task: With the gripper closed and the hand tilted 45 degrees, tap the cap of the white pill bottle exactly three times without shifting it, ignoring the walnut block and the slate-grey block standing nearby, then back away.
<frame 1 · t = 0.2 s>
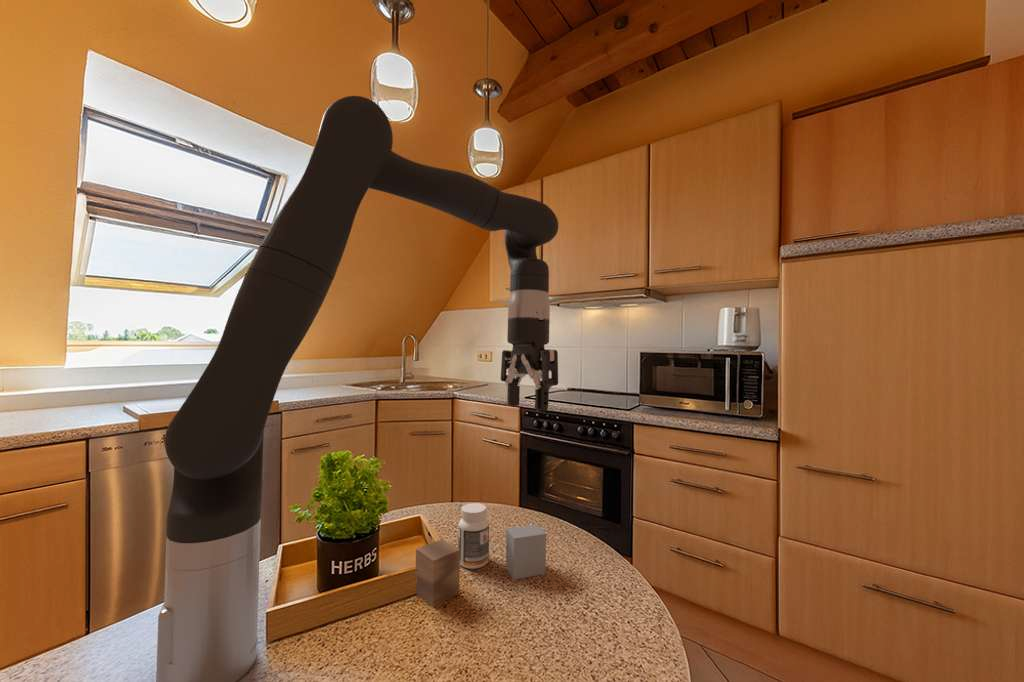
hand: (526, 408, 72), 29 cm above the countertop, tool pointing down, fingers open, 8 cm apart
pill bottle: (473, 562, 74), on the countertop
slate block: (525, 570, 72), on the countertop
walnut block: (437, 593, 65), on the countertop
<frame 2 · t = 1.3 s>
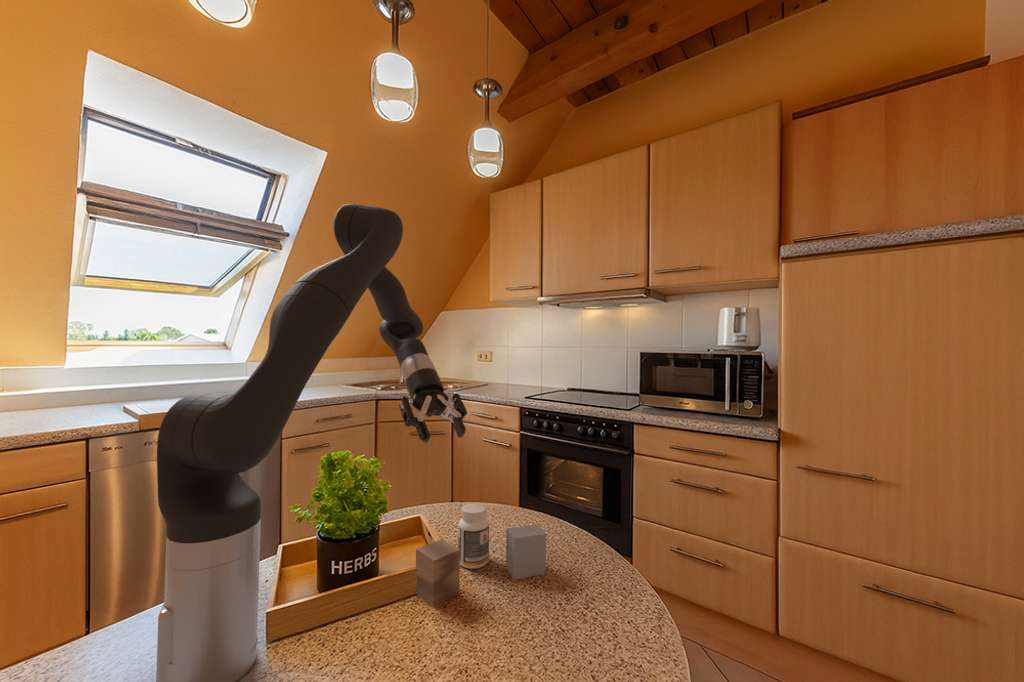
hand: (445, 437, 83), 21 cm above the countertop, tool tilted 45°, fingers open, 7 cm apart
nothing on the countertop moved.
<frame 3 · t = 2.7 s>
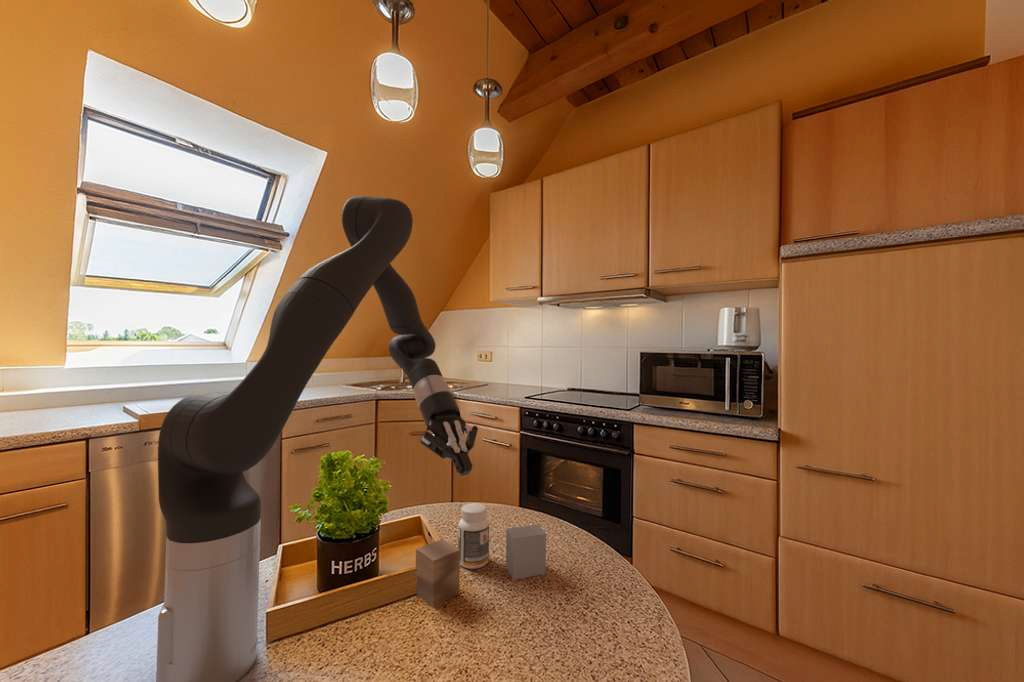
hand: (466, 472, 76), 16 cm above the countertop, tool tilted 45°, fingers closed
nothing on the countertop moved.
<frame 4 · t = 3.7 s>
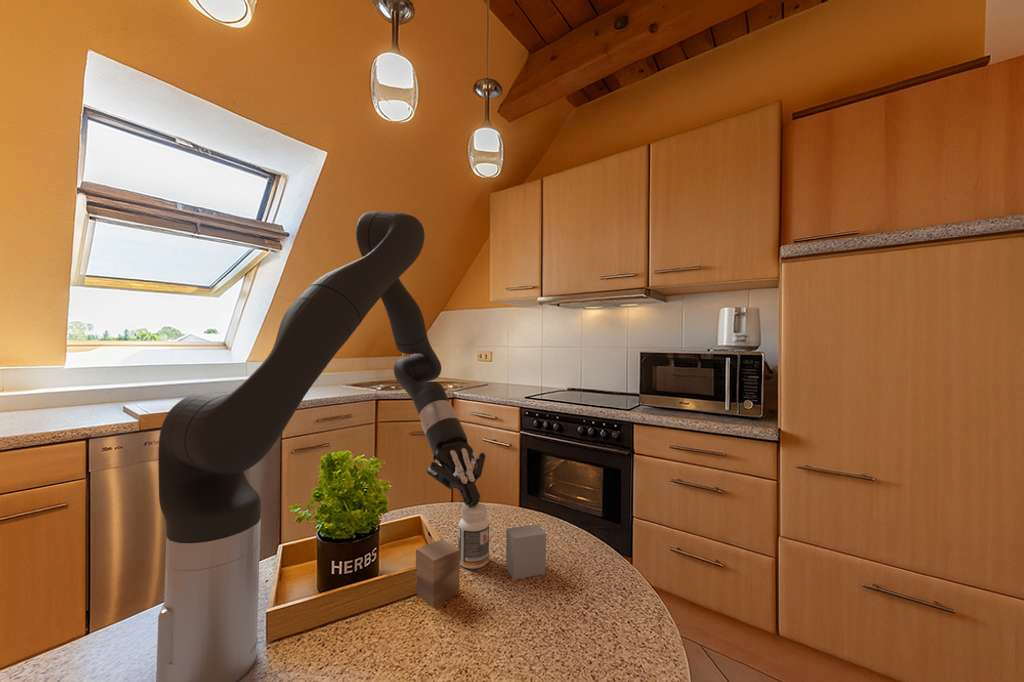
hand: (474, 504, 75), 10 cm above the countertop, tool tilted 45°, fingers closed
pill bottle: (473, 563, 74), on the countertop, touching gripper
everything else where it was.
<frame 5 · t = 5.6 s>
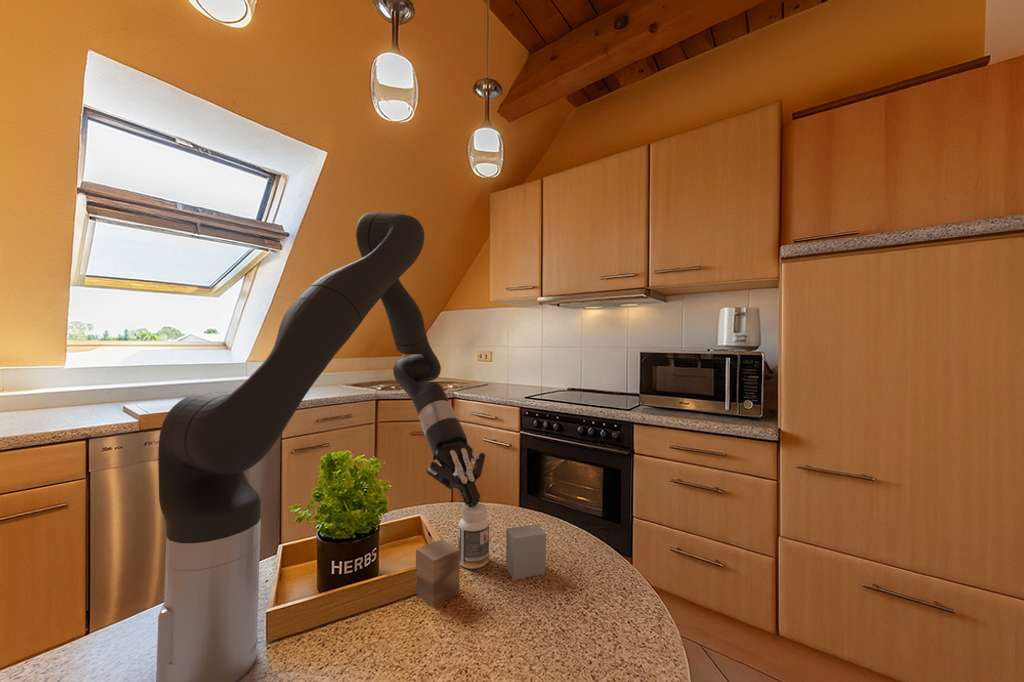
hand: (474, 504, 75), 10 cm above the countertop, tool tilted 45°, fingers closed
nothing on the countertop moved.
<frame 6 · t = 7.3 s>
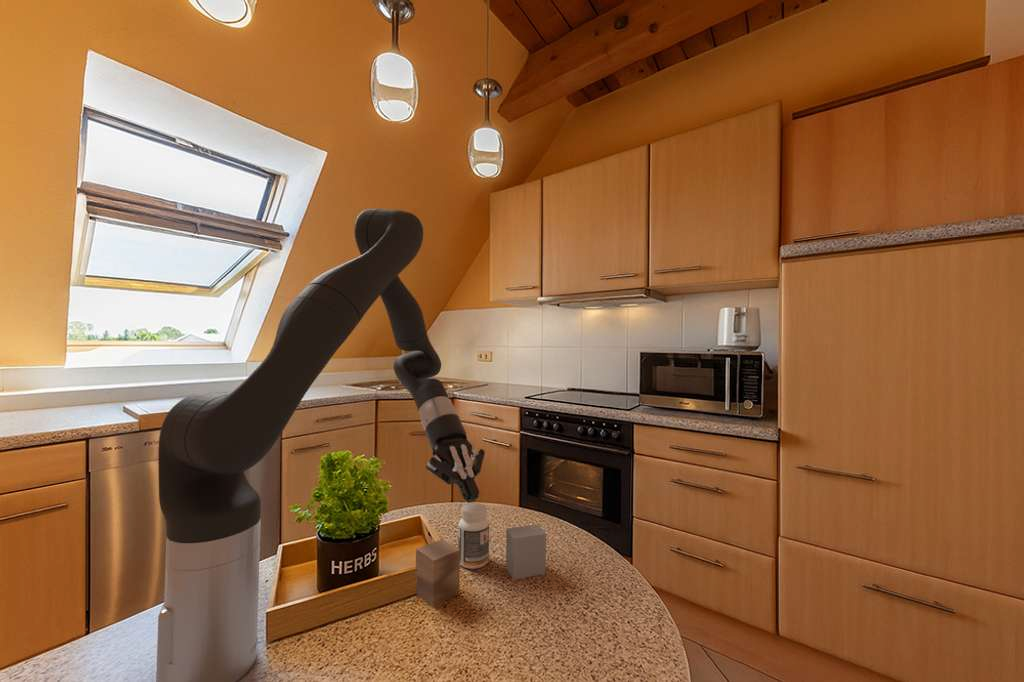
hand: (473, 499, 74), 11 cm above the countertop, tool tilted 45°, fingers closed
pill bottle: (473, 562, 74), on the countertop
everything else where it was.
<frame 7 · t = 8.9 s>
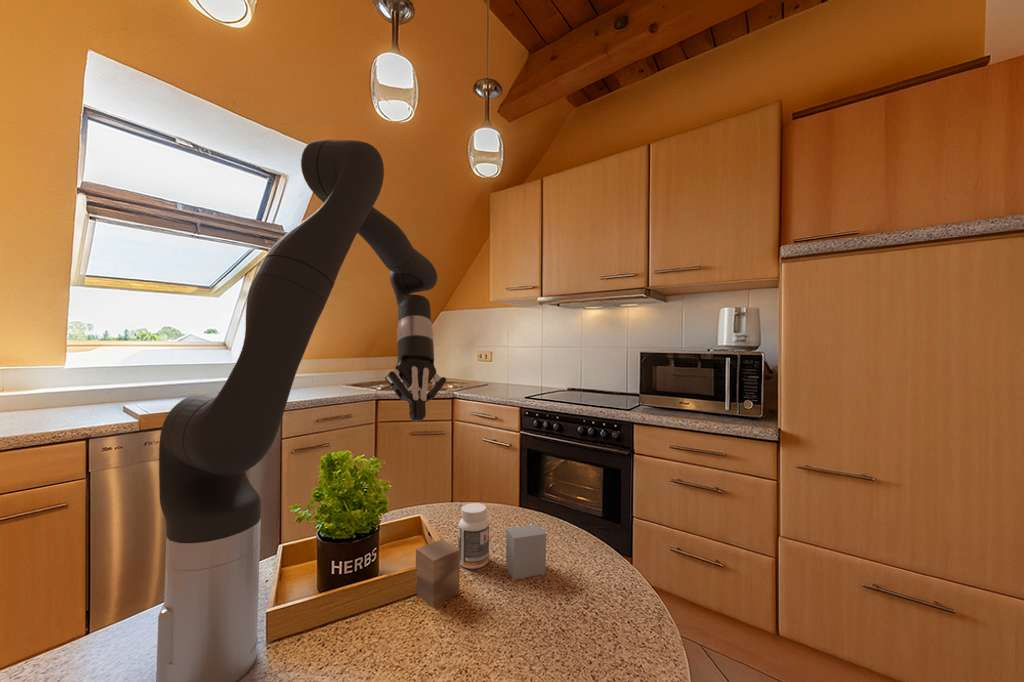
hand: (417, 420, 79), 25 cm above the countertop, tool tilted 25°, fingers closed
nothing on the countertop moved.
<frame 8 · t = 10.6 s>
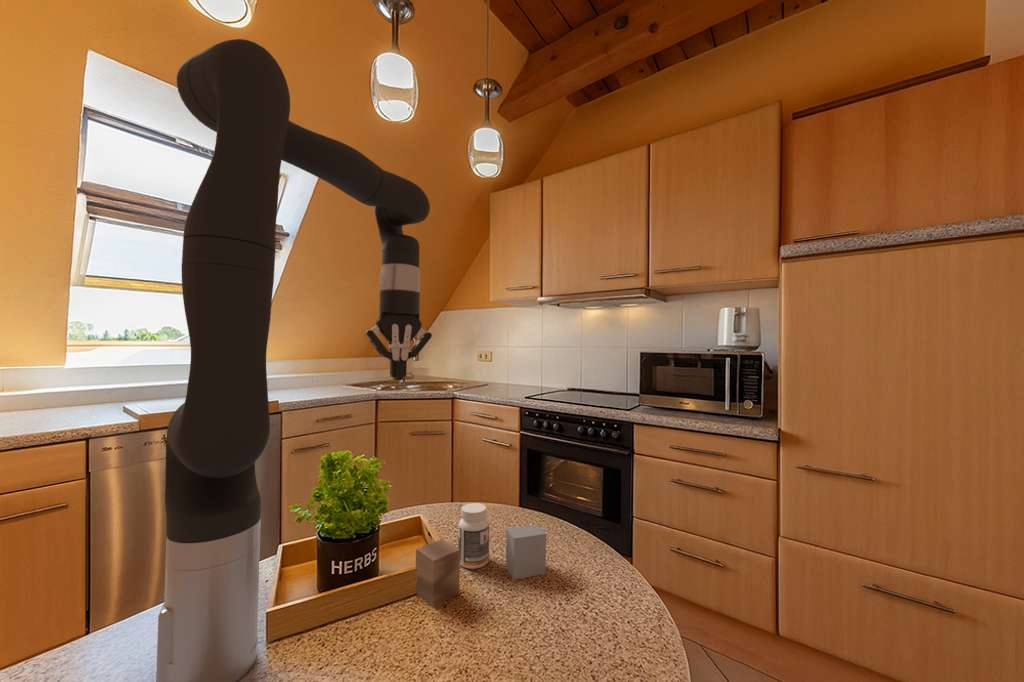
hand: (398, 379, 78), 33 cm above the countertop, tool pointing down, fingers closed
nothing on the countertop moved.
at the end: pill bottle moved 0.2 cm from its start; pill bottle tilted 0°; walnut block moved 0.1 cm from its start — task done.
